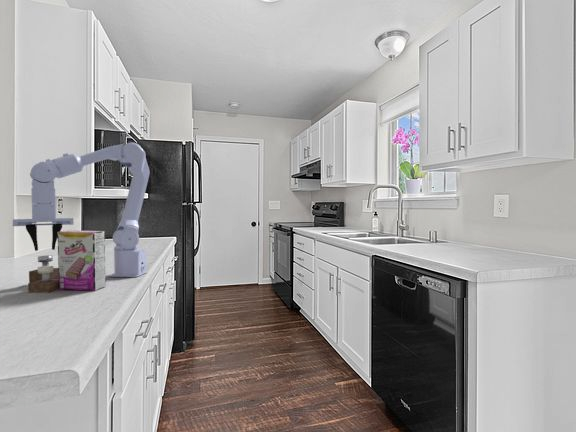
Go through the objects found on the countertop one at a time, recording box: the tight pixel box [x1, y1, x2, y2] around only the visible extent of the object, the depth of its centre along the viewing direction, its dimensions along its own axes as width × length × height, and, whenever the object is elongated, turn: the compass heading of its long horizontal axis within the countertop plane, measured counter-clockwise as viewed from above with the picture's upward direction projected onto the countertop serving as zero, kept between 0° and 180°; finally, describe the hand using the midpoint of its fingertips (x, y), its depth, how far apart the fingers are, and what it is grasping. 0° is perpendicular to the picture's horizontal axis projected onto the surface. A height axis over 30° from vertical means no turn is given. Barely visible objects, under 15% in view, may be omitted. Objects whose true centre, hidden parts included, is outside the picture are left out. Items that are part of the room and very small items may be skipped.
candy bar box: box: [57, 229, 106, 292], centre depth 97 cm, size 11×5×16 cm, turn 84°
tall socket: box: [28, 267, 59, 283], centre depth 102 cm, size 6×6×4 cm
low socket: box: [27, 279, 59, 294], centre depth 95 cm, size 6×6×2 cm
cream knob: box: [37, 265, 54, 282], centre depth 95 cm, size 4×4×4 cm
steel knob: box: [37, 254, 54, 266], centre depth 102 cm, size 4×4×6 cm
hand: (45, 249), depth 102 cm, fingers open, 3 cm apart
